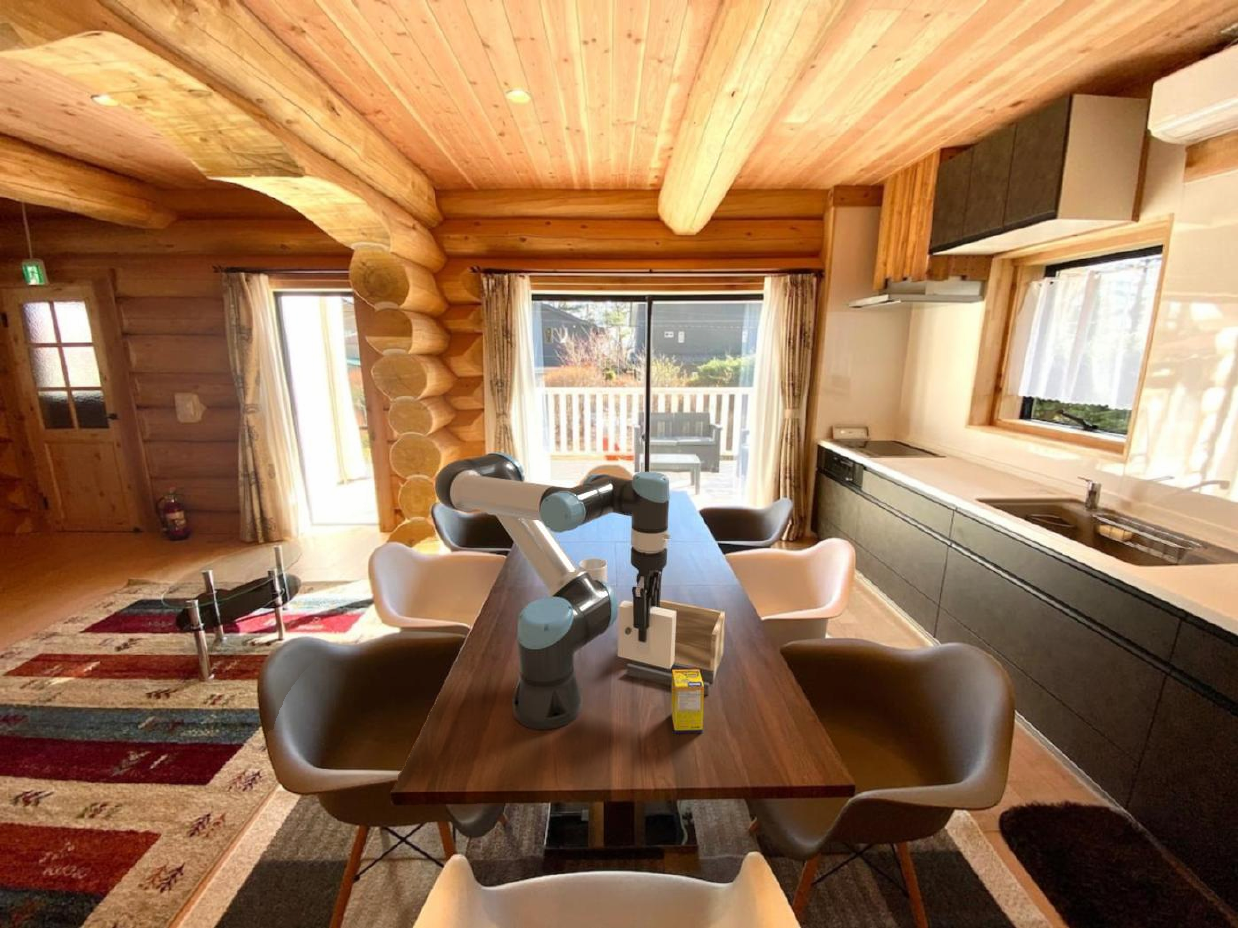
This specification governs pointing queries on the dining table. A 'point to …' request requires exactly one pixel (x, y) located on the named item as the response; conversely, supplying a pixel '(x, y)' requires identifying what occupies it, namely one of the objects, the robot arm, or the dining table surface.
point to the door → (659, 636)
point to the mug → (595, 568)
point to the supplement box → (687, 701)
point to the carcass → (690, 645)
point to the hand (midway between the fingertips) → (646, 648)
